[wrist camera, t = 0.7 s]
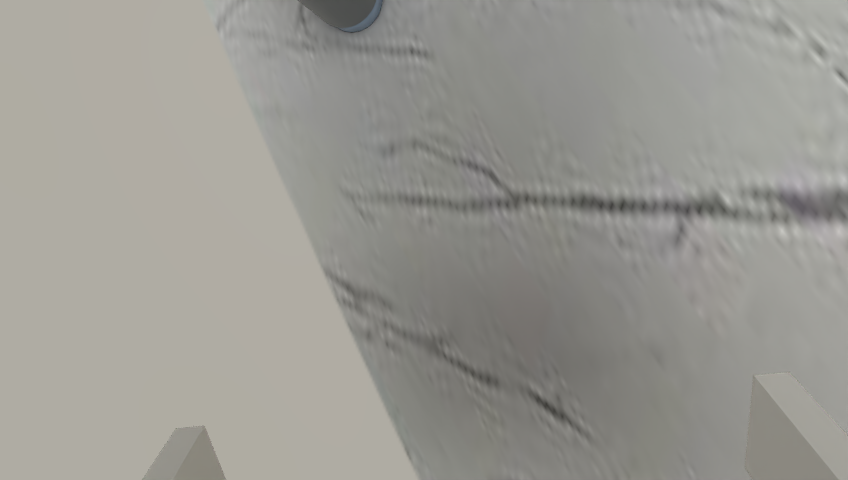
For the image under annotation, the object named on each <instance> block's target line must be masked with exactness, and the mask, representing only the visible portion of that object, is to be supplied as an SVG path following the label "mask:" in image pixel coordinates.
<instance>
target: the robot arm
mask: <svg viewBox="0 0 848 480" xmlns="http://www.w3.org/2000/svg"><path fill="white" fill-rule="evenodd" d="M745 468H746V470H747V471H748V473H749V475H750V476H751V478H752V479H753V480H848V435H847V434H846V433H845V432H844V431H843V430H842V429H841V428H840V426H839V425H838V424H837V423H836V422H835V421H834V420H833V419H832V418H831V417H830V416H829V414H828V413H827V412H826V411H825V410H824V409H823V408H822V407H821V406H820V405H819V404H818V403H817V401H816V400H815V399H814V398H813V397H812V396H811V395H810V394H809V393H808V392H807V391H806V389H805V388H804V387H803V386H802V385H801V384H800V383H799V382H798V381H797V380H796V379H795V378H794V376H793V375H792V374H791V373H790V372H784V373H773V374H762V375H753V386H752V396H751V406H750V417H749V427H748V437H747V447H746V458H745ZM142 480H226V478H225V476H224V474H223V471H222V468H221V466H220V463H219V461H218V459H217V456H216V453H215V451H214V448H213V446H212V443H211V441H210V438H209V436H208V433H207V431H206V428H205V426H196V427H185V428H176V429H175V430H174V432H173V434H172V435H171V437H170V438H169V440H168V441H167V443H166V444H165V446H164V447H163V449H162V450H161V452H160V453H159V455H158V456H157V458H156V459H155V461H154V462H153V464H152V466H151V467H150V469H149V470H148V472H147V473H146V475H145V476H144V478H143V479H142Z"/></svg>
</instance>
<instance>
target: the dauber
mask: <svg viewBox="0 0 848 480" xmlns="http://www.w3.org/2000/svg"><path fill="white" fill-rule="evenodd" d="M298 1H299V2H301V3H302V4H303V5H305V6H306V7H307V8H308V9H310V10H311V11H312V12H313V13H315V14H316V15H317V16H319V17H320V18H321V19H322V20H324V21H325V22H326V23H328V24H329V25H331V26H334V27H337V28H339V29H341V30H343V31H346V32H357V31H361V30H363V29H365V28H367V27H368V26H370V25H371V24H372V23H373V22H374V21H375V19H376V18H377V16H378V14H379V12H380V9H381V6H382V0H298Z"/></svg>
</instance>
